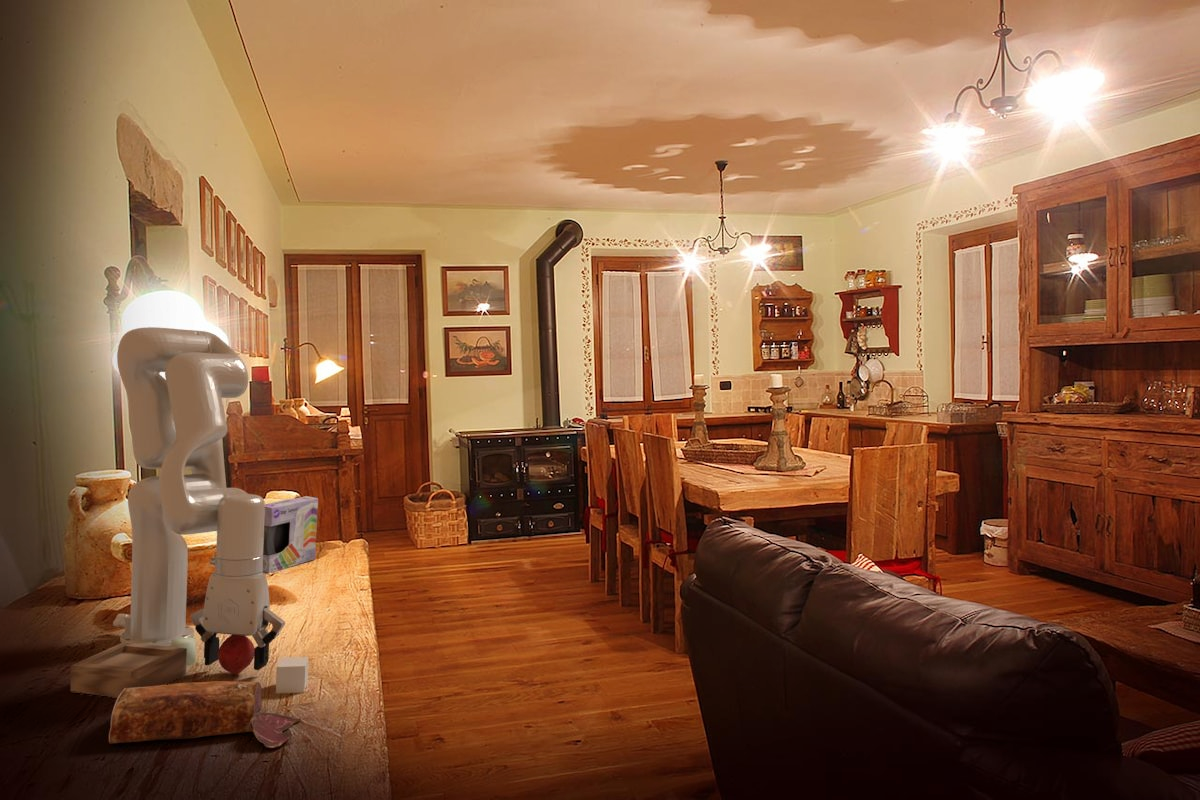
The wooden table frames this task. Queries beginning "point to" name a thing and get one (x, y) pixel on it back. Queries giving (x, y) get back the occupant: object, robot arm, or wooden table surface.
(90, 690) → the shallow wooden tray
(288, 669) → the grey ceramic cube
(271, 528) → the cake pan box
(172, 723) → the cured meat
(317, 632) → the wooden table surface
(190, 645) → the sage painted capsule
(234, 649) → the red fruit
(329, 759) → the wooden table surface
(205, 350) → the robot arm
